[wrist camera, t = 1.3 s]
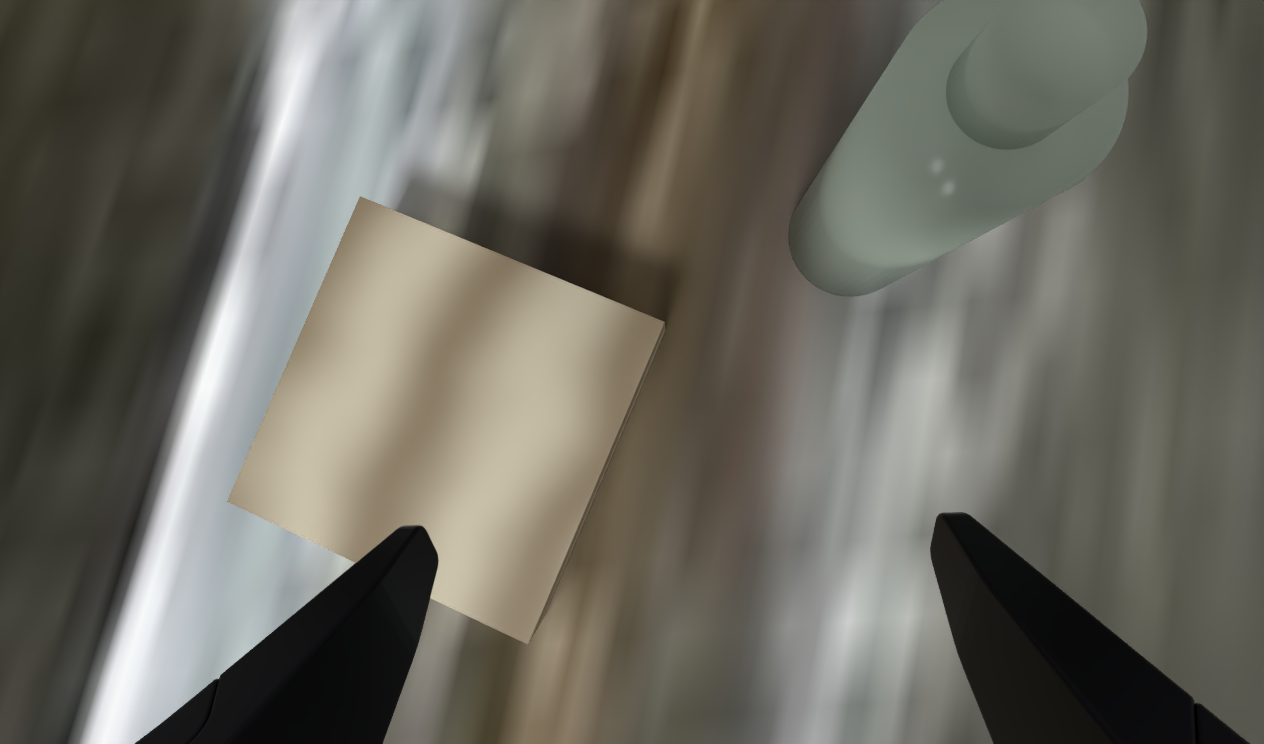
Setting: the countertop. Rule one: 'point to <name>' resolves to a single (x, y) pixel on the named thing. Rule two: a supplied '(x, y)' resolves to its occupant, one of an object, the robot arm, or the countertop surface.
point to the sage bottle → (967, 134)
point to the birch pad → (449, 413)
